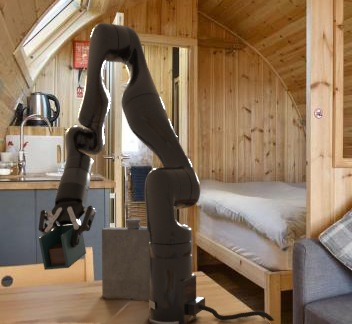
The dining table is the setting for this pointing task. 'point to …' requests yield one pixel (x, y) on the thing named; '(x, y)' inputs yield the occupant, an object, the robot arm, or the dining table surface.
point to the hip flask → (126, 261)
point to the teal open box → (62, 238)
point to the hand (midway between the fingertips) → (60, 246)
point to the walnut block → (57, 255)
